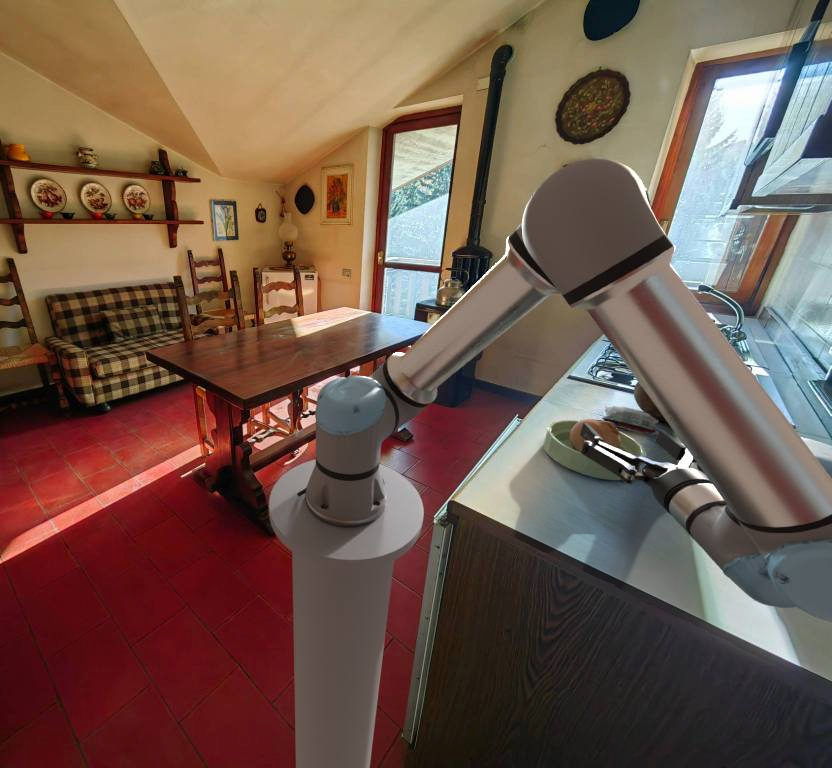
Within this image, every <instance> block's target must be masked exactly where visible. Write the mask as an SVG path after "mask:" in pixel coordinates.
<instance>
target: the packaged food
mask: <svg viewBox="0 0 832 768" xmlns="http://www.w3.org/2000/svg"><path fill="white" fill-rule="evenodd" d="M604 408H605V409H604V412H605V416H603V417H602V420H605V421H609V422H612V423H614V424H615V426H616V427H617V428H619V429H622V430H623V429H624V430H627V431H631V432H634V433H640V434H646V435H647V434H649V435H651V434H655V435H658V431H657V429H656V428H655V425H656V424H658V423H659V420H658V419H656V418H653V417H652V416H651V415H650V414H648V413H646V412H644V411H643V410H639V409H634V408H630V407H627V406H619V405H618V406H617V405H616V406H615V405H613V406H606V405H604Z"/></svg>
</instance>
